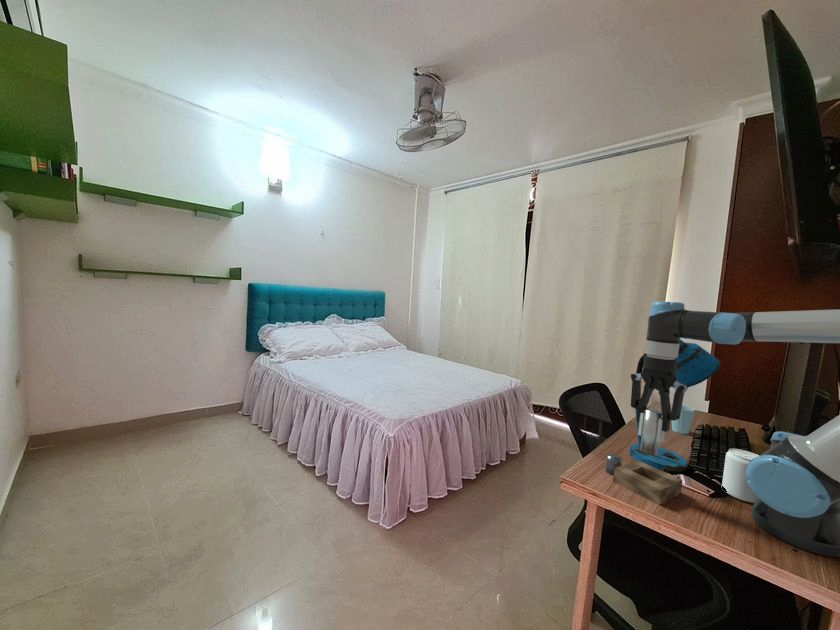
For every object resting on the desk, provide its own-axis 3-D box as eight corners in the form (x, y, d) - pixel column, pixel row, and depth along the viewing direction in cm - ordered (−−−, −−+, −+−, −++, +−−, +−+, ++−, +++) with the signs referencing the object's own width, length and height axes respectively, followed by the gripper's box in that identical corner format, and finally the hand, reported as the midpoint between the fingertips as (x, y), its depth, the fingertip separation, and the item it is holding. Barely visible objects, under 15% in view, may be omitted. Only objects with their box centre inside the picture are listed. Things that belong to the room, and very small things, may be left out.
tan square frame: (680, 493, 91) (682, 479, 91) (659, 505, 85) (660, 490, 85) (635, 472, 101) (636, 459, 101) (613, 480, 96) (614, 467, 95)
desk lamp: (717, 479, 100) (736, 334, 97) (636, 465, 105) (651, 327, 102) (688, 455, 115) (704, 329, 112) (619, 444, 121) (632, 324, 118)
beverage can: (770, 507, 87) (776, 464, 87) (734, 501, 89) (740, 459, 88) (746, 489, 95) (751, 450, 94) (714, 485, 97) (719, 445, 96)
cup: (694, 433, 136) (697, 409, 136) (688, 437, 132) (691, 412, 131) (672, 426, 143) (675, 403, 142) (666, 430, 138) (668, 406, 138)
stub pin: (622, 474, 100) (624, 458, 100) (615, 476, 98) (617, 460, 98) (609, 467, 103) (611, 452, 103) (602, 470, 101) (603, 454, 101)
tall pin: (659, 453, 92) (665, 412, 91) (652, 456, 90) (658, 414, 89) (644, 447, 95) (649, 407, 95) (637, 449, 93) (642, 409, 93)
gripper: (704, 362, 85) (693, 449, 87) (635, 350, 100) (626, 424, 102) (691, 364, 82) (679, 454, 83) (621, 351, 96) (613, 427, 98)
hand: (650, 437), depth 93 cm, fingers closed on tall pin, 4 cm apart
